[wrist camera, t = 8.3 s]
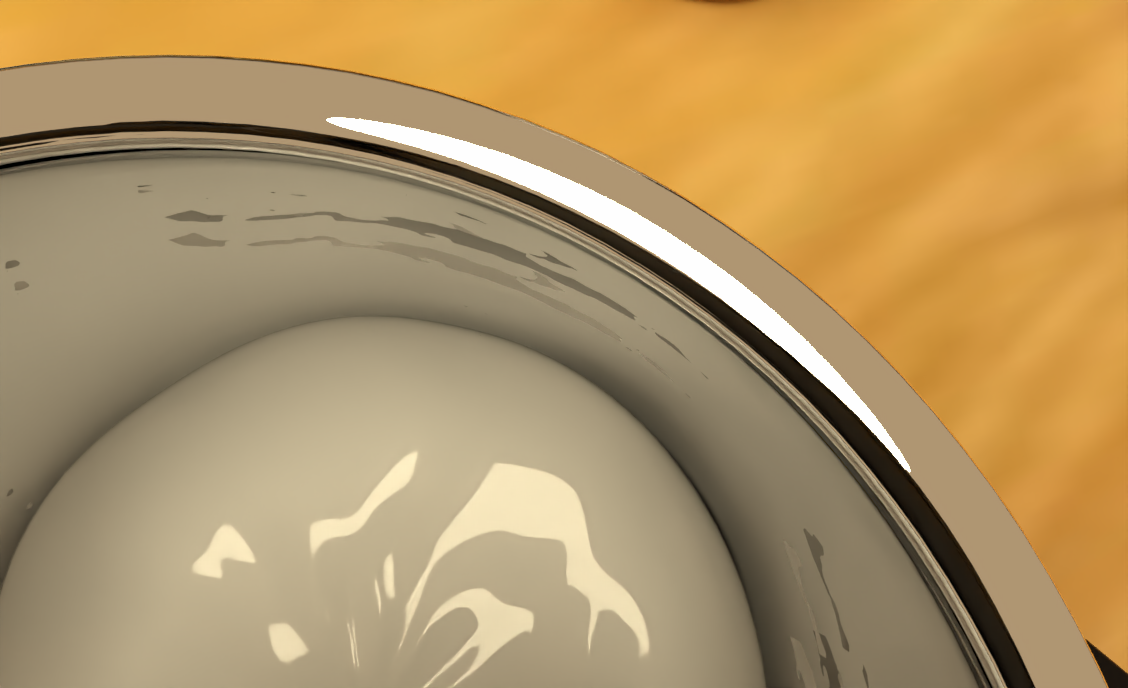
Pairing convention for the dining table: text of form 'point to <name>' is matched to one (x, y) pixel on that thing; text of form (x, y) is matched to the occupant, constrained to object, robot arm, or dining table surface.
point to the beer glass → (450, 415)
